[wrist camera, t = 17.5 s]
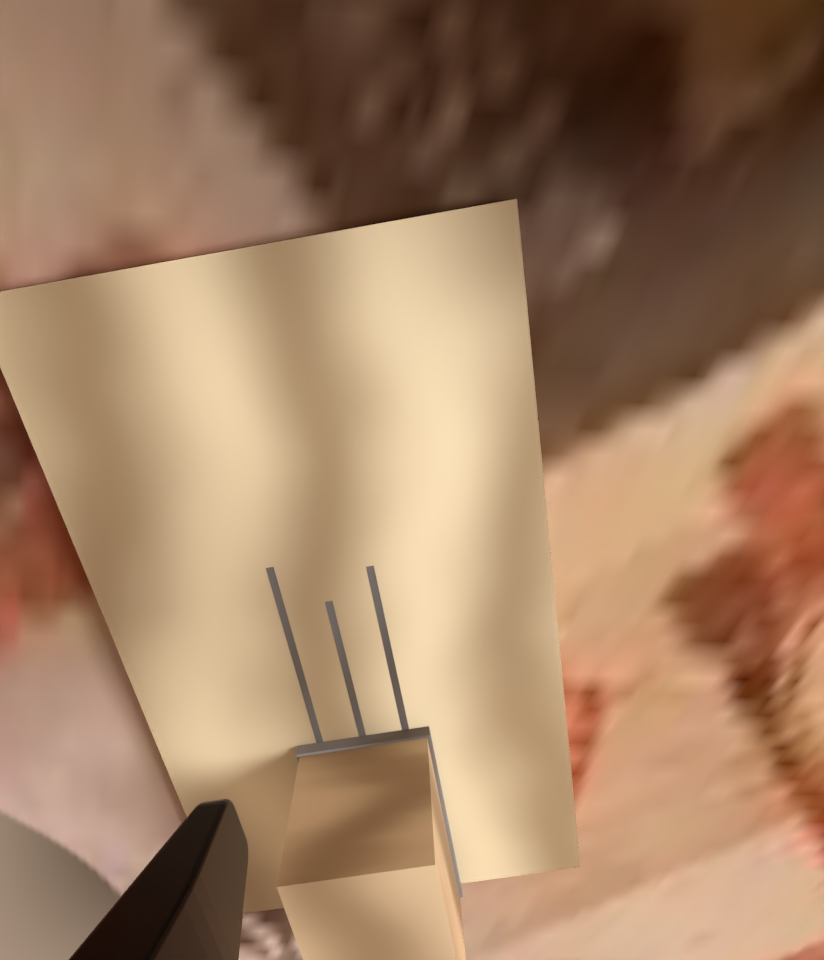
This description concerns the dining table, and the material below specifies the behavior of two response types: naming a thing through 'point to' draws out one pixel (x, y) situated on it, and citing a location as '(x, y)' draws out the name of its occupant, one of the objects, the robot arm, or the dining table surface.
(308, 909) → the block
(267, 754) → the board
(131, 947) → the robot arm
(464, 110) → the dining table surface
